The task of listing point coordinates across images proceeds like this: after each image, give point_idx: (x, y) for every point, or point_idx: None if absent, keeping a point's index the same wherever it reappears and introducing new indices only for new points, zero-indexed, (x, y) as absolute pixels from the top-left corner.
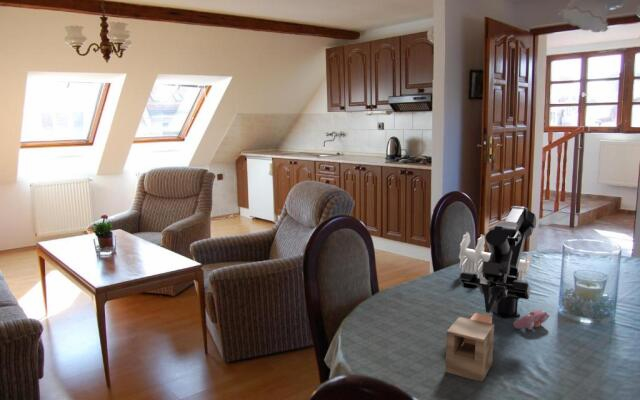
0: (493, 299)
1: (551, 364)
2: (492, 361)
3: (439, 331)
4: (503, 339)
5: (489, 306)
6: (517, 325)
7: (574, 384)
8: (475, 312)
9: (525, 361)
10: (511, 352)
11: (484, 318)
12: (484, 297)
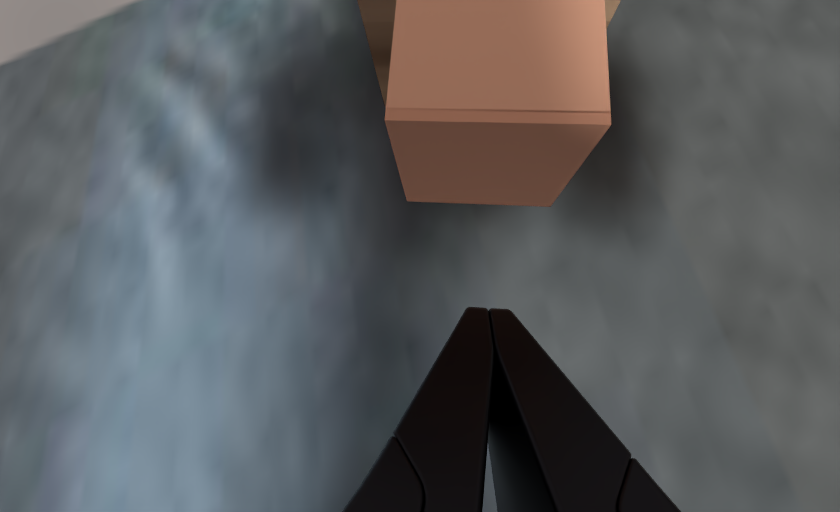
0: (412, 463)
1: (114, 240)
2: (382, 96)
3: (803, 368)
4: (371, 446)
5: (472, 350)
6: None
7: (45, 106)
8: (609, 119)
9: (235, 210)
10: (308, 279)
11: (456, 7)
12: (660, 490)
